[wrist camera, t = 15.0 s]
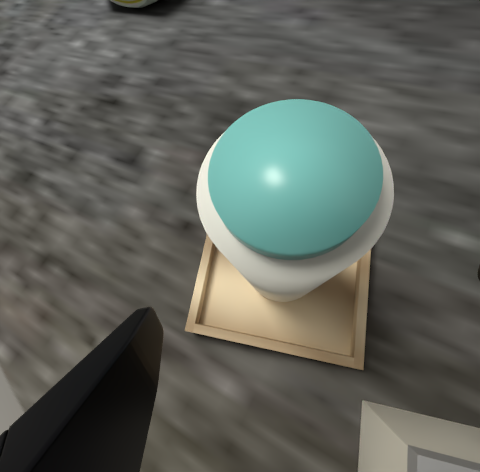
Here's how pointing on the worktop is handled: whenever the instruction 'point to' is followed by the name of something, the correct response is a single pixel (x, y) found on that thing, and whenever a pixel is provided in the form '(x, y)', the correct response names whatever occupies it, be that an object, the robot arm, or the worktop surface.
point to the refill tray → (283, 312)
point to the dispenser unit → (415, 442)
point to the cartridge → (294, 195)
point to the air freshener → (134, 3)
